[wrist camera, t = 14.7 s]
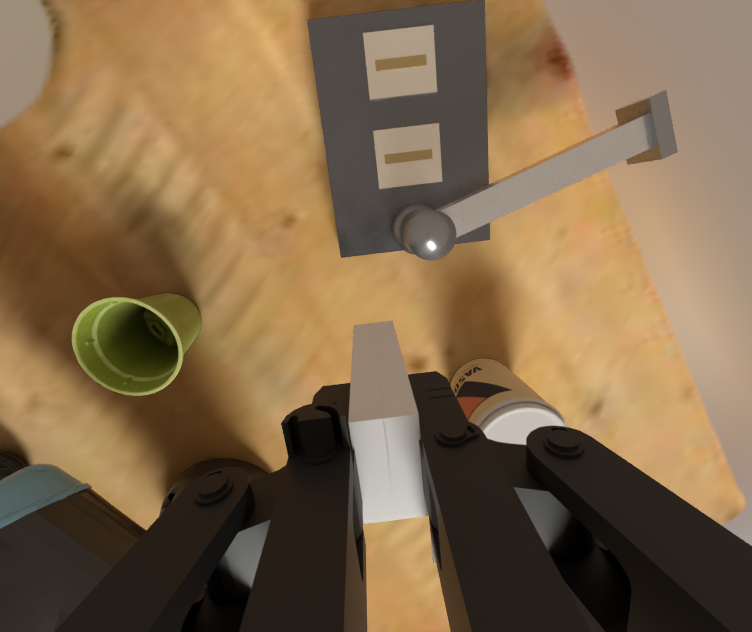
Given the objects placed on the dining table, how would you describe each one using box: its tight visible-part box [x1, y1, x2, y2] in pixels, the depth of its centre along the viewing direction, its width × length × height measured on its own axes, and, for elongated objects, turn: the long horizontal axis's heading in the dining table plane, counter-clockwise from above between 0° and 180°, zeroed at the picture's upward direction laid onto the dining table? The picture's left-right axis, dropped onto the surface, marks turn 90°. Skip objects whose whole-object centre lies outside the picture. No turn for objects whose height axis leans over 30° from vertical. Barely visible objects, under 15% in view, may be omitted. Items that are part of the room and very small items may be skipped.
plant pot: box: [72, 293, 201, 396], centre depth 36 cm, size 9×9×9 cm
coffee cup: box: [450, 358, 567, 445], centre depth 39 cm, size 9×9×12 cm
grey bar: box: [399, 90, 677, 260], centre depth 29 cm, size 21×4×6 cm, turn 115°
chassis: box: [307, 0, 490, 258], centre depth 33 cm, size 15×20×6 cm
